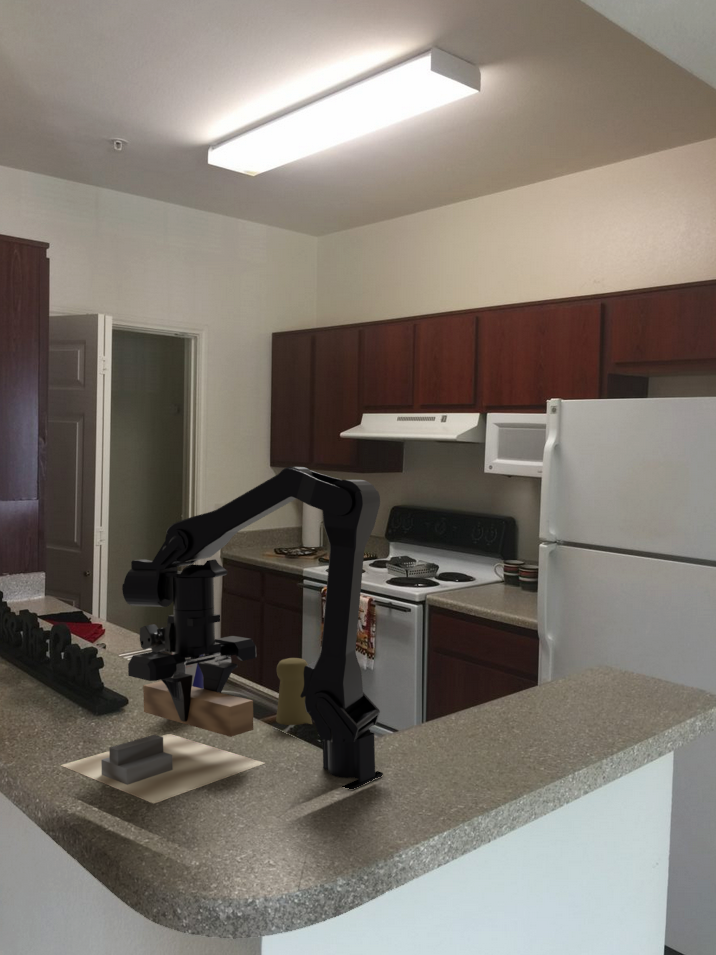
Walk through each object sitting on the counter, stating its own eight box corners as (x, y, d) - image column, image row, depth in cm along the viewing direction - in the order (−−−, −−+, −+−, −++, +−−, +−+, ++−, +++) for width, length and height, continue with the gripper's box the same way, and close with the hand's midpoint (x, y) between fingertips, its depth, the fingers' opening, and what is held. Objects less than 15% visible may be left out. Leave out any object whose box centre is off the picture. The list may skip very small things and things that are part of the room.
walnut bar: (253, 729, 112) (252, 700, 112) (230, 736, 109) (230, 706, 109) (166, 706, 126) (165, 680, 126) (143, 712, 123) (143, 685, 123)
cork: (307, 733, 129) (305, 663, 130) (270, 732, 131) (268, 662, 131) (316, 722, 135) (315, 655, 135) (281, 721, 137) (280, 654, 137)
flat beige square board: (265, 771, 112) (264, 733, 112) (154, 813, 99) (153, 769, 99) (169, 741, 127) (168, 707, 127) (60, 773, 113) (59, 736, 113)
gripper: (210, 596, 130) (212, 695, 130) (104, 611, 116) (107, 722, 116) (257, 601, 123) (259, 706, 122) (151, 618, 109) (153, 737, 108)
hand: (196, 717), depth 117 cm, fingers closed on walnut bar, 4 cm apart
